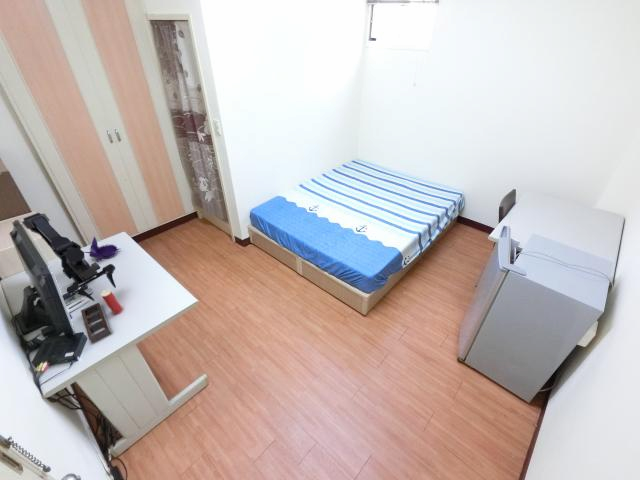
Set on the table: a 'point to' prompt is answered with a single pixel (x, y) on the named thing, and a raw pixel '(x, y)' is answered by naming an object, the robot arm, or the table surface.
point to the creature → (102, 250)
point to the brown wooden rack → (97, 325)
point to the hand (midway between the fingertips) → (105, 293)
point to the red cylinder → (111, 301)
